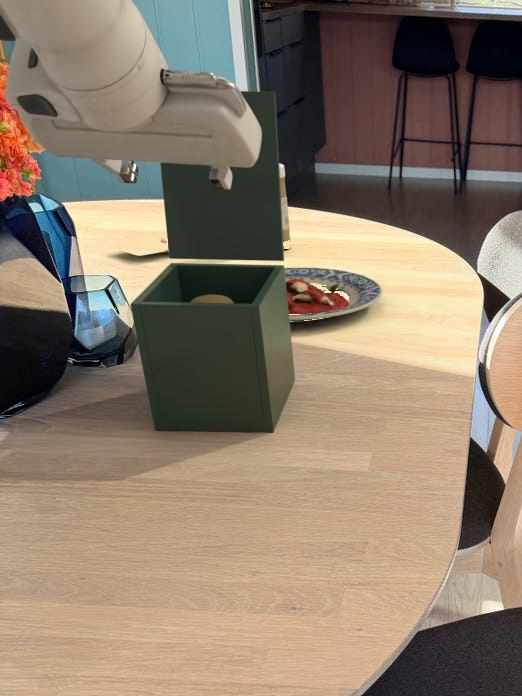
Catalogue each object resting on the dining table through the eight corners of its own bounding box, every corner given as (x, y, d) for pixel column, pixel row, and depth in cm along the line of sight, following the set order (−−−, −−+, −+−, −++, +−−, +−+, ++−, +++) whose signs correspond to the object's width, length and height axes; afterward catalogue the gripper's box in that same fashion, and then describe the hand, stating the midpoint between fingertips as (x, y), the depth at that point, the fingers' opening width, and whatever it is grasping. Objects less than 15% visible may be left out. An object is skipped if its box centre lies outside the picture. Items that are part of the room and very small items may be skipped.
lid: (274, 91, 99) (275, 93, 100) (153, 88, 99) (155, 90, 99) (283, 260, 105) (284, 261, 106) (169, 258, 105) (171, 258, 105)
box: (273, 432, 101) (259, 306, 93) (154, 430, 100) (130, 304, 92) (295, 379, 113) (284, 265, 106) (189, 377, 113) (170, 262, 105)
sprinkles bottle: (274, 244, 167) (266, 161, 159) (296, 246, 166) (289, 163, 158) (260, 249, 164) (251, 165, 156) (283, 252, 163) (275, 167, 155)
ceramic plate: (226, 342, 124) (223, 320, 122) (191, 290, 143) (188, 270, 141) (407, 322, 133) (407, 300, 131) (352, 275, 151) (351, 256, 150)
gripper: (238, 41, 75) (286, 156, 89) (1, 30, 77) (84, 144, 91) (226, 110, 74) (276, 216, 88) (-15, 98, 76) (72, 203, 90)
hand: (177, 179), depth 89 cm, fingers open, 8 cm apart
